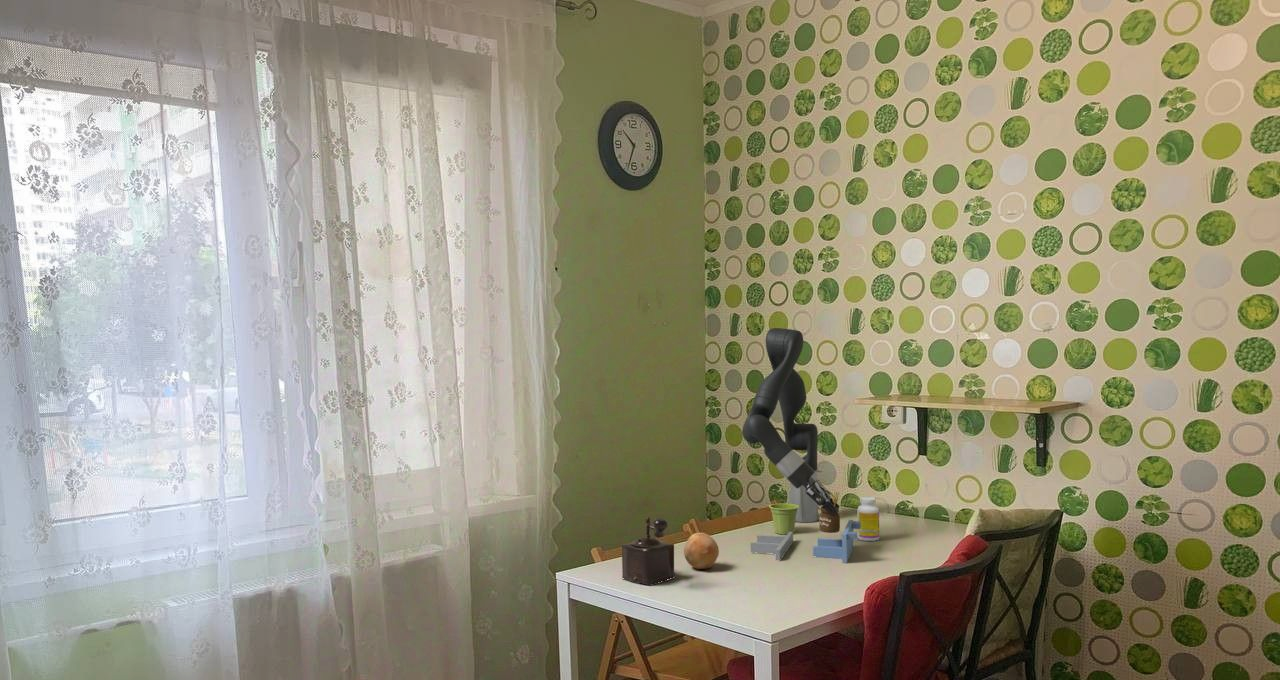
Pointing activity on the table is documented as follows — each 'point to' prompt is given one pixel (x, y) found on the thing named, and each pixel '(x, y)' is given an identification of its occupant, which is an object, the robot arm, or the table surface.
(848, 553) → the blue rail with prongs
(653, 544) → the manual coffee grinder
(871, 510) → the supplement bottle
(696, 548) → the onion
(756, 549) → the grey rail with prongs
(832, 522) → the utensil holder
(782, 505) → the plant pot
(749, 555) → the table surface
